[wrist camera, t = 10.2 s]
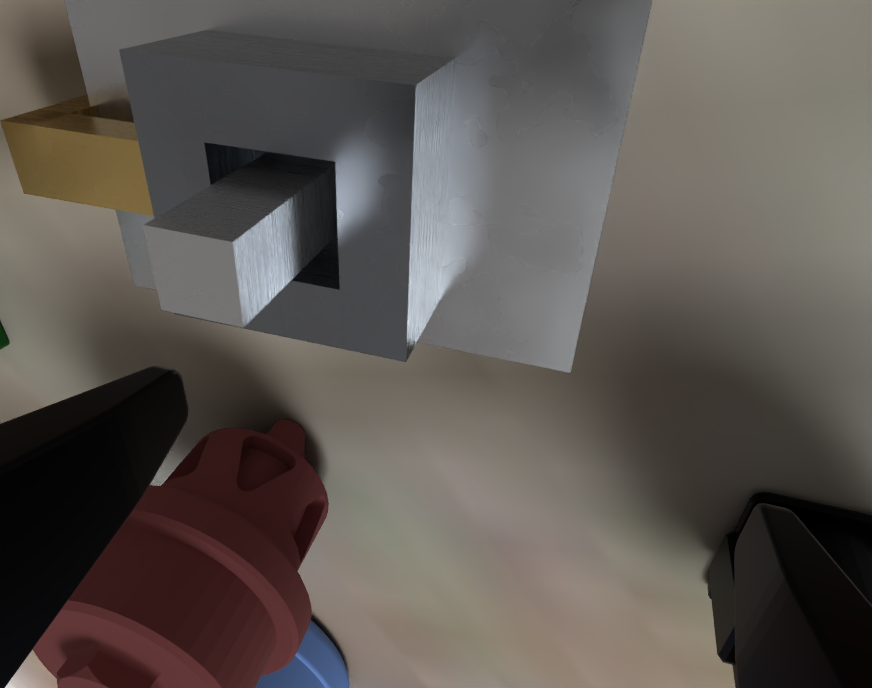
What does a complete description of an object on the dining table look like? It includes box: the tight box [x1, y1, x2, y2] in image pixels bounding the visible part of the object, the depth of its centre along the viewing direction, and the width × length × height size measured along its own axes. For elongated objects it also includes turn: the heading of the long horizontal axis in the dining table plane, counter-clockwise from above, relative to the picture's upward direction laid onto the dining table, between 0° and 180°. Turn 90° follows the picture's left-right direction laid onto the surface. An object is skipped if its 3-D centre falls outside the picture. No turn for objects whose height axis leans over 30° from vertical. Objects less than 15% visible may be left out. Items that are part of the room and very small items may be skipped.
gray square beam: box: [143, 152, 338, 328], centre depth 18 cm, size 2×2×8 cm
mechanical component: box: [33, 419, 329, 688], centre depth 26 cm, size 12×10×10 cm
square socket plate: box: [0, 0, 652, 373], centre depth 20 cm, size 19×12×5 cm, turn 87°
